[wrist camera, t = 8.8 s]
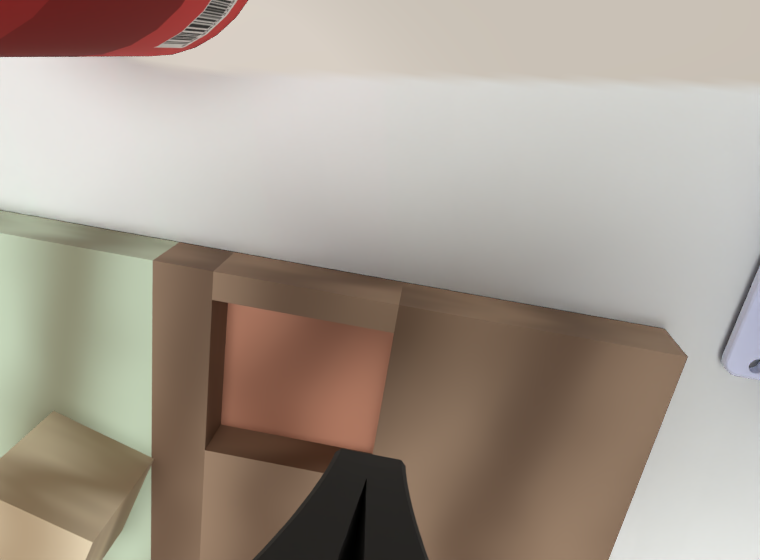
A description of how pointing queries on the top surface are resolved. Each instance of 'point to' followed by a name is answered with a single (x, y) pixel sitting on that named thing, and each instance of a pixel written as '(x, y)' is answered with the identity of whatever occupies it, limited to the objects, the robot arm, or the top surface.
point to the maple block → (66, 492)
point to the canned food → (110, 26)
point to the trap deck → (325, 393)
